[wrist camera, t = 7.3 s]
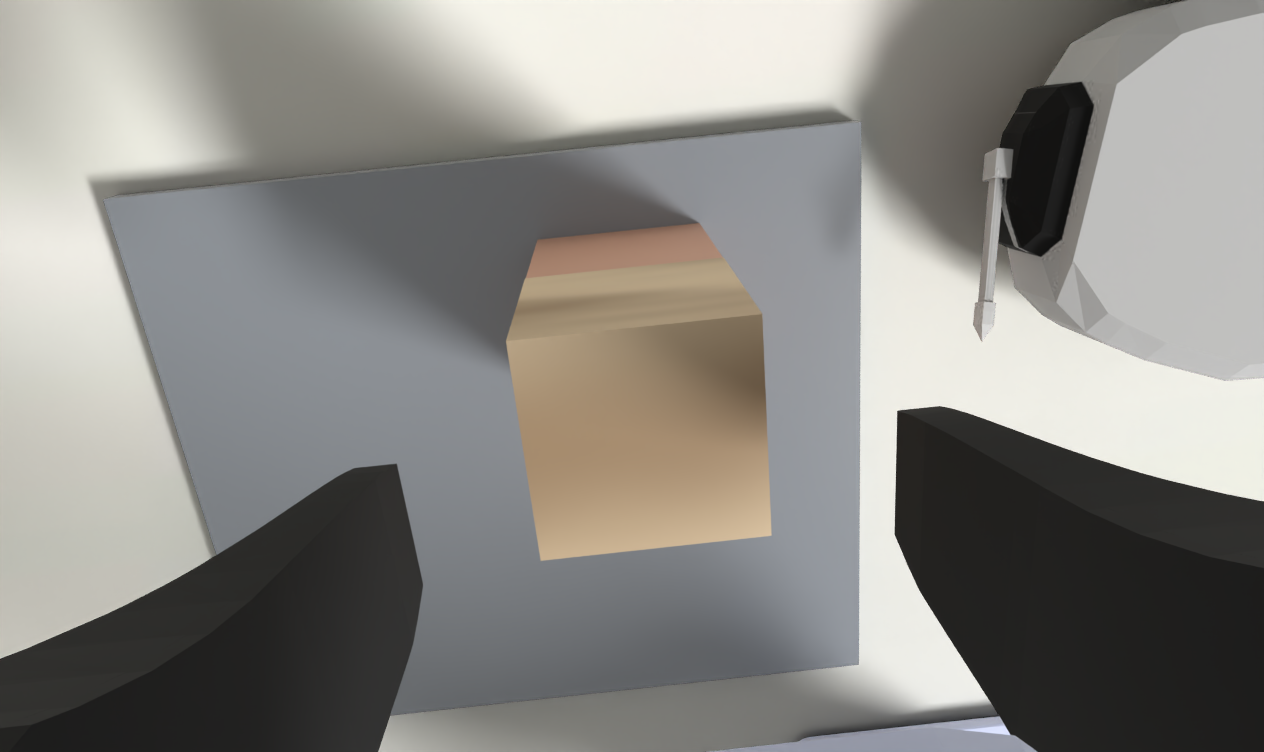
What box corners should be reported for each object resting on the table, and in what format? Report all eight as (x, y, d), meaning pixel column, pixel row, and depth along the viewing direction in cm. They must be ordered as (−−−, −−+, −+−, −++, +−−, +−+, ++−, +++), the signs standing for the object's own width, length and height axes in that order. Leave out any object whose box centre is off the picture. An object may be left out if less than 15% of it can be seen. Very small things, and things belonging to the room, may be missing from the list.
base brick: (709, 374, 22) (733, 438, 18) (557, 390, 22) (550, 458, 18) (699, 222, 20) (724, 258, 17) (537, 239, 20) (525, 279, 17)
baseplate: (852, 651, 26) (858, 664, 25) (278, 713, 26) (271, 728, 25) (853, 120, 20) (861, 122, 20) (116, 195, 20) (102, 199, 19)
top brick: (734, 438, 18) (771, 535, 14) (550, 457, 18) (540, 560, 14) (723, 257, 17) (762, 314, 13) (524, 278, 17) (506, 341, 13)
